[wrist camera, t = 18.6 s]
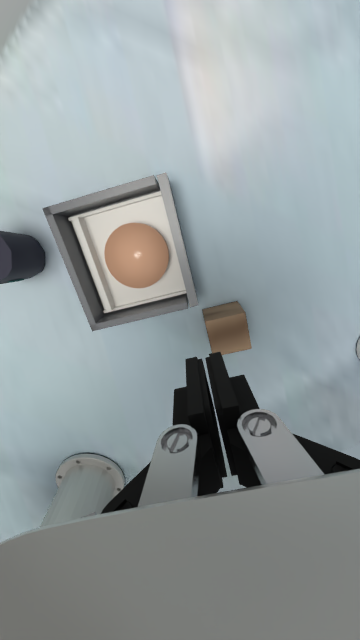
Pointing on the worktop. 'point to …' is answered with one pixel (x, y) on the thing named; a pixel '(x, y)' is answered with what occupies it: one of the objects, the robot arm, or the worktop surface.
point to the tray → (148, 211)
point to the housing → (77, 261)
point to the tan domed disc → (136, 255)
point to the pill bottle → (358, 348)
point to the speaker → (19, 257)
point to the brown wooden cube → (227, 328)
